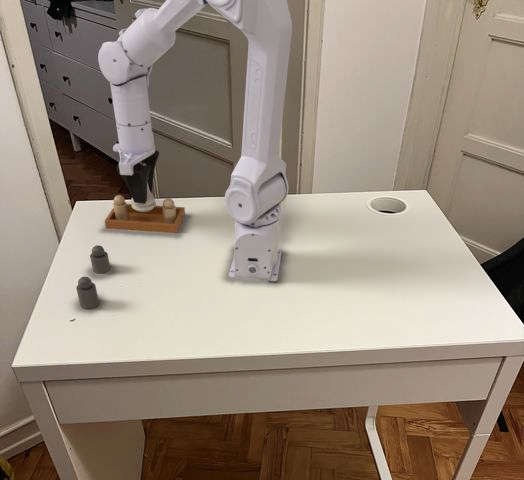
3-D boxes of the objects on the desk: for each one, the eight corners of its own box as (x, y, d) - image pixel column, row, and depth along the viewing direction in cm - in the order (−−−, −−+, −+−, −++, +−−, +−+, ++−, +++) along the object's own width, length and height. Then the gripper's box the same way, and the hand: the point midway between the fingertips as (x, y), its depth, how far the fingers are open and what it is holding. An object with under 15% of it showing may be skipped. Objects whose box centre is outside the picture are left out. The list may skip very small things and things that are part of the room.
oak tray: (177, 235, 103) (176, 225, 102) (106, 230, 104) (104, 220, 103) (185, 216, 108) (184, 207, 107) (118, 212, 109) (116, 202, 108)
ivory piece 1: (126, 223, 105) (123, 198, 102) (114, 222, 105) (110, 198, 102) (130, 216, 107) (126, 193, 104) (118, 216, 107) (114, 192, 104)
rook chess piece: (159, 209, 103) (155, 167, 98) (136, 214, 102) (129, 172, 96) (151, 199, 106) (146, 158, 101) (128, 204, 105) (122, 162, 99)
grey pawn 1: (95, 310, 86) (89, 283, 82) (77, 308, 86) (71, 282, 83) (101, 299, 88) (96, 273, 84) (84, 298, 88) (78, 271, 85)
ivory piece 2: (175, 226, 105) (173, 202, 101) (162, 225, 105) (160, 201, 102) (178, 220, 106) (176, 196, 103) (165, 219, 106) (163, 195, 103)
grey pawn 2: (107, 276, 92) (102, 251, 89) (91, 275, 93) (85, 250, 89) (113, 267, 94) (108, 242, 91) (96, 266, 95) (91, 241, 92)
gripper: (122, 105, 100) (132, 178, 108) (95, 135, 89) (109, 214, 97) (161, 107, 99) (169, 181, 108) (139, 137, 88) (149, 216, 97)
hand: (143, 197), depth 103 cm, fingers closed on rook chess piece, 3 cm apart
